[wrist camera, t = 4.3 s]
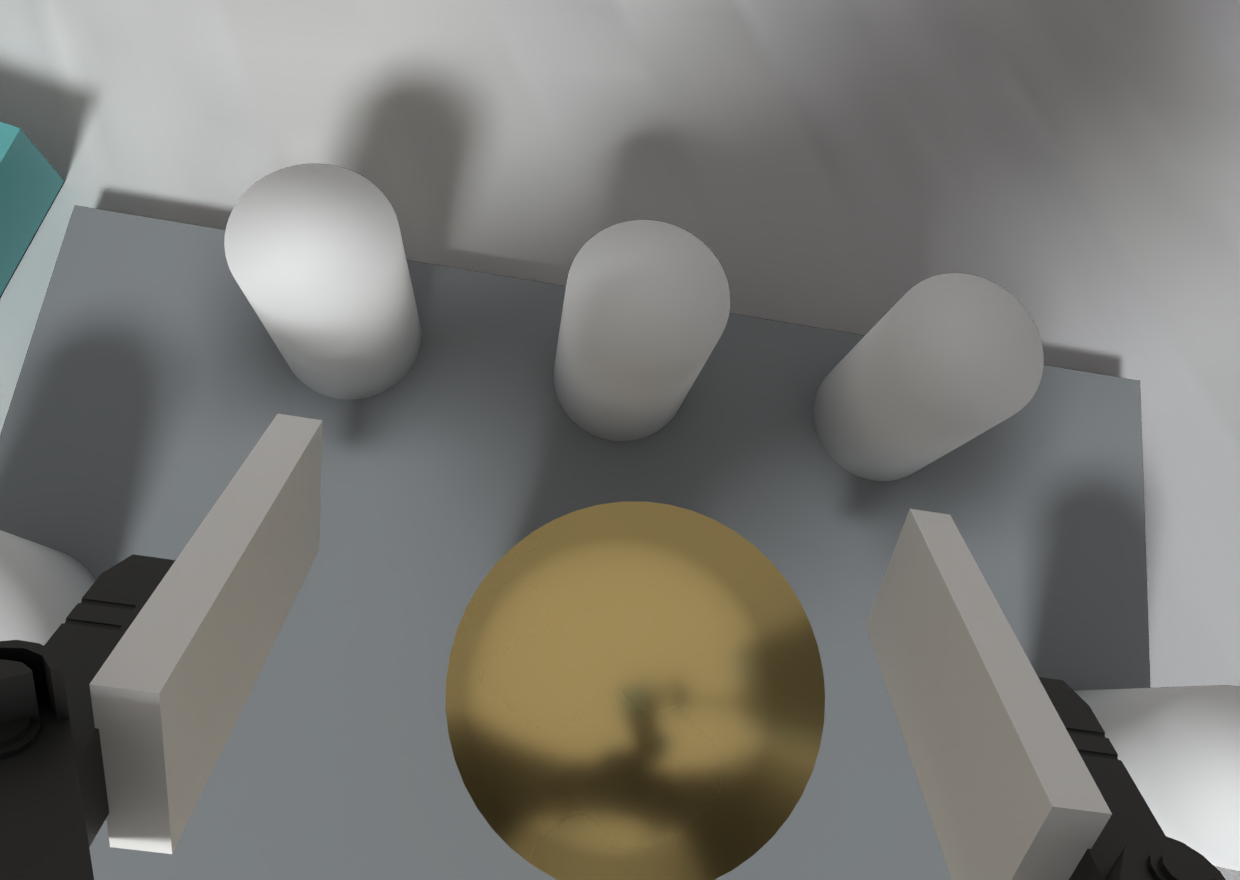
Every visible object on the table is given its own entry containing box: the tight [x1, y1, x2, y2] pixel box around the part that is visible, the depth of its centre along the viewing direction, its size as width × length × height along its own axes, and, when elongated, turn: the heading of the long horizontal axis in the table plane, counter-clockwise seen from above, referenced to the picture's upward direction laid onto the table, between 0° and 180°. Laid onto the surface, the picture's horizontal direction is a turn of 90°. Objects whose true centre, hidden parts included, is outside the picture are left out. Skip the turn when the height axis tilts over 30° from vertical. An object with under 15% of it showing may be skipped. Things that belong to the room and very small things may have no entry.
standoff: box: [445, 502, 825, 880], centre depth 15 cm, size 4×4×10 cm
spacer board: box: [0, 164, 1240, 880], centre depth 18 cm, size 25×14×5 cm, turn 83°
